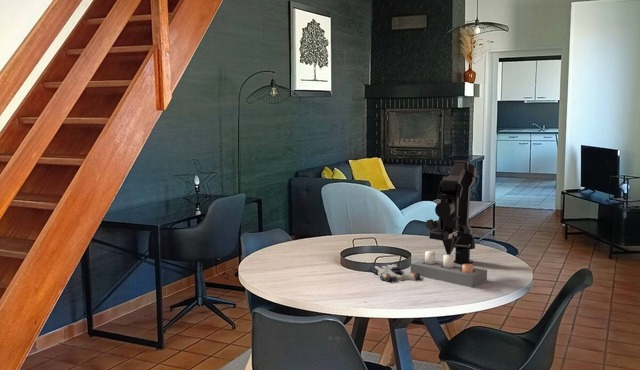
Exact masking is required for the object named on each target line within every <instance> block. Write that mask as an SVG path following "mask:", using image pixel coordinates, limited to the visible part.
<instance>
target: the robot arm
mask: <svg viewBox="0 0 640 370" xmlns="http://www.w3.org/2000/svg"><path fill="white" fill-rule="evenodd" d="M477 173H478V170H477V168H476V166H475V165H473V164H472V163H469V161H467V160H455V161H454V165H453V168H452V169H451V171H450V172H449V175H448V176H445V177H443V179H442V180H441V181H440V182H439V184H438V190H437V194H436V200H437V199H438V200H440V202H439V203H437V204H436V206H435V208H434V212H435V214H436V216H438V219H436V220H433V219H432V218H431V219H428V220H426V222H425V228H427V229H428V231H430V232H429V233H428V239H431V240H435V241H440V242H442V243H443V246H444V247H443V248H444V251H445V253H446V254H447V255H452V252H453V250H454V249H455V251H454V253H455V254H454V257H455V258H454V264H458V265H462V264H472V263H473V262H474V260H472V259H471V250H475V249H476V242H475V238H474V234H473V229H472V226H471V225H470V223H469V220H470V203H471V201H470V200H471V188H472V186H473V185H474V183H475V181H476V178H477Z"/></svg>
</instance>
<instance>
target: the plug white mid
mask: <svg viewBox="0 0 640 370" xmlns="http://www.w3.org/2000/svg"><path fill="white" fill-rule="evenodd" d="M454 257H455V255H454V254H450V255H447V253H446V254H443V258H442V261H443V268H447V269H452V268H453V266H454V264H455V263H454V260H455V258H454Z"/></svg>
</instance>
